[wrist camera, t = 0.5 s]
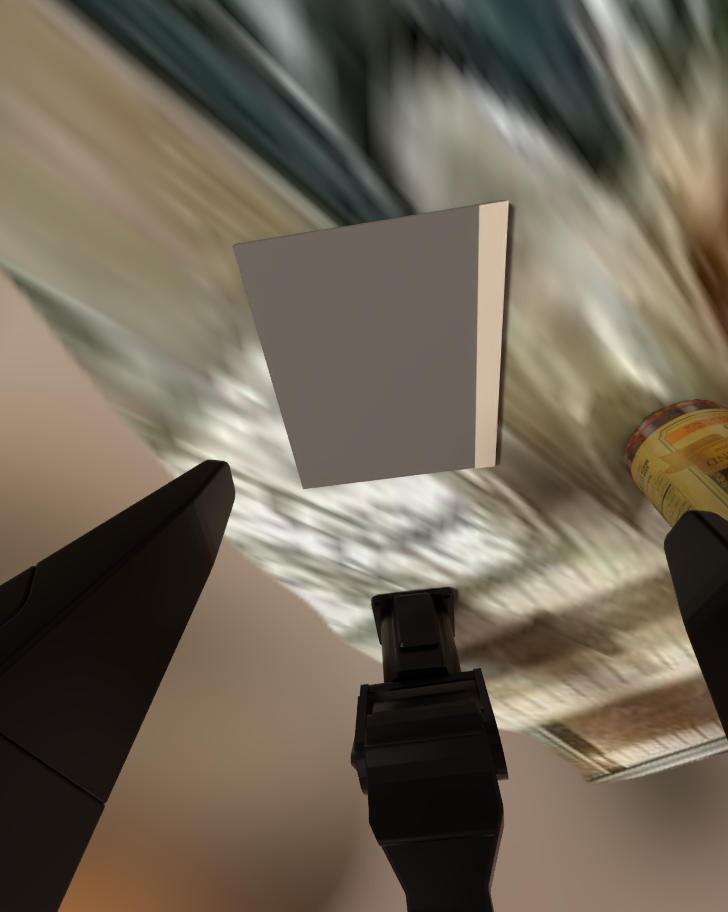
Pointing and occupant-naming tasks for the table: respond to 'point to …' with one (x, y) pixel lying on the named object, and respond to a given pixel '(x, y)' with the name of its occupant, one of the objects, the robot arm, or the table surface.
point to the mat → (384, 341)
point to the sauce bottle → (682, 459)
